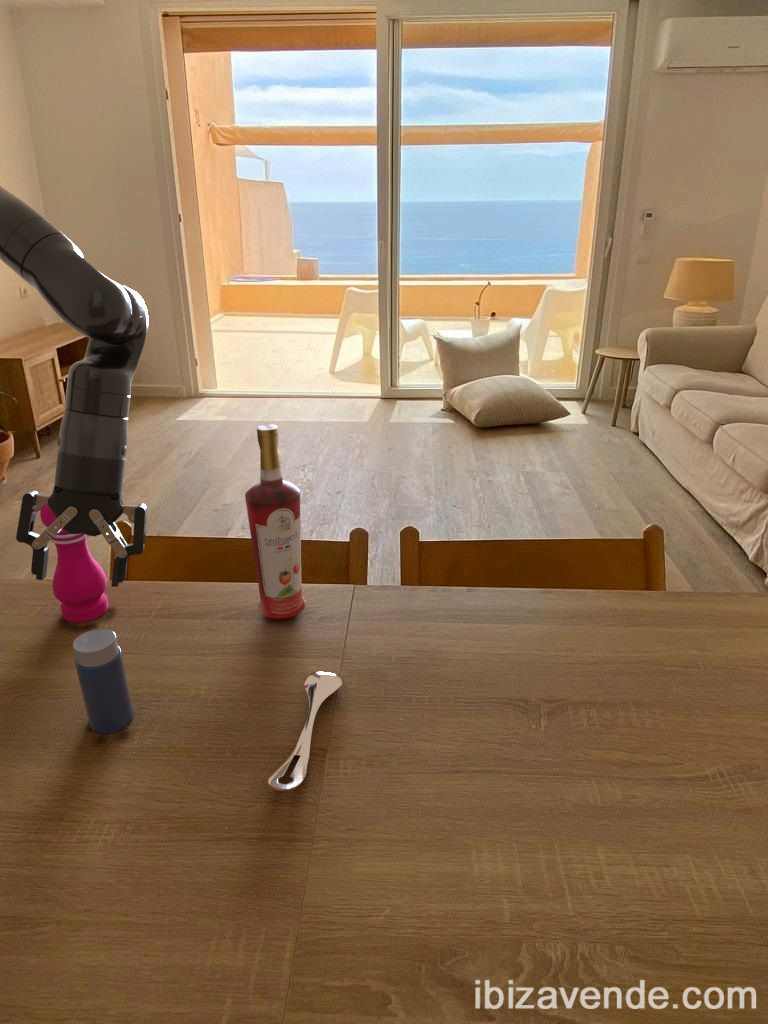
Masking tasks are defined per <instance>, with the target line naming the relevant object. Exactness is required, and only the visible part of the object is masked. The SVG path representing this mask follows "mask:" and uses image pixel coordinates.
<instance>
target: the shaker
mask: <svg viewBox="0 0 768 1024" xmlns="http://www.w3.org/2000/svg"><path fill="white" fill-rule="evenodd" d="M117 639H118V638H117V634H116V633H115V632H114V631H112V630H111V629H106V628H105V629H104V628H98V629H93V630H89V631H86V632H83V633H82V634H80V635H79V636H77V637H76V638H75V639H74V640H73V643H72V648H73V653H74V659H73V660H74V665H75V670H76V675H77V679H78V682H79V687H80V691H81V696H82V700H83V703H84V708H85V712H86V717H87V721H88V725H89V728H90V731H92V732H93V733H96V734H100V735H109V734H114V733H117V732H119V731H121V730H123V729H125V728H126V727H128V726H129V725H130V724H131V723H132V722H133V719H134V709H133V704H132V699H131V695H130V689H129V685H128V679H127V675H126V670H125V664H124V661H123V655H122V650H121V648H120V646H119V645H118V640H117Z"/></svg>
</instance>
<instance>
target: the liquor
mask: <svg viewBox="0 0 768 1024" xmlns="http://www.w3.org/2000/svg"><path fill="white" fill-rule="evenodd" d="M256 434H257V435H256V437H257V442H258V446H259V451H260V459H259V462H260V463H259V464H260V467H259V469H260V471H259V472H260V474H259V475H260V476H259V477H260V479H259V482H257V483H254V484H253V485H252V486H251V487H250V488H248V490H247V491H245V493H244V498H245V506H246V512H247V519H248V526H249V532H250V538H251V543H252V550H253V557H254V562H255V571H256V577H257V585H258V592H259V593H258V594H259V603H258V605H257V610H258V612H259V613H260V614H261V615H262V616H264V617H266V618H267V619H269V620H271V621H273V622H279V623H281V622H287V621H291V620H293V619H294V618H295V617H297V616H298V615H299V614H301V612H303V611H304V610H305V608H306V606H307V602H306V599H305V598H304V597H303V583H302V582H303V581H302V579H303V578H302V518H301V517H302V515H301V489H300V488H299V487H298V486H296V485H295V484H293V483H292V482H290V481H287V480H284V478H283V472H282V467H281V461H280V456H279V450H278V448H279V426H278V425H277V424H272V423H267V424H266V423H265V424H260V425H258V426H256Z"/></svg>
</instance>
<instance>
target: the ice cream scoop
mask: <svg viewBox="0 0 768 1024" xmlns="http://www.w3.org/2000/svg"><path fill="white" fill-rule="evenodd" d="M344 681H345V679H344V677H342V676H341V675H339V674H338V673H335V672H331V671H323V670H319V671H317V670H316V671H313V672H311V673H308V675H306V676H305V678H304V680H303V686H304V689H305V692H306V694H307V697H308V712H307V717H306V721H305V724H304V726H303V729H302V731H301V734H300V736H299V738H298V739H297V742H296V744H295V745H294V746H293V748H292V750H291V751H290V753H289V754H288V755H287V757H285V759H283V761H282V762H281V763H280V764H279V765H278V766H277V767H276V768H275V769H274V770H273V771H272V772H271V774H270V775H269V777H268V779H267V783H268V784H267V785H268V787H270V789H272V790H274V791H277V792H287V791H292V790H295V789H298V788H299V787H300V786H301V784H302V783H303V782H304V780H305V777H306V776H307V772H308V768H309V760H310V753H311V752H310V751H311V741H312V735H313V727H314V722H315V719H316V715H317V713H318V710H319V708H320V707H321V705H322V704H323V702H324V701H325V700H327V698H328V697H329V696H331V695H332V694H333V693H335V692H336V691H337V690H338V689H339V688H340V687H341V686H342V685H343V684H344ZM295 757H299V758H298V760H297V761H296V764H295V766H294V768H293V770H292V772H291V774H290V775H289V778H290V779H292V781H291V782H289V783H281V782H279V780H280V779H282V778H284V777H285V775H286V773H287V772H288V769H289V767H290V766H291V764H292V762H293V760H294V758H295Z"/></svg>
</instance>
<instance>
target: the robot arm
mask: <svg viewBox="0 0 768 1024" xmlns="http://www.w3.org/2000/svg"><path fill="white" fill-rule="evenodd" d="M0 261H1V262H2V263H4V265H5V266H7V267H8V268H9V269H11V270H12V271H13V272H14V273H15V274H17V275H18V276H19V277H20V278H21V279H23V281H25V282H26V283H27V284H28V285H29V286H31V287H33V288H34V289H35V290H36V291H37V292H38V293H39V295H40V296H41V298H43V300H44V301H45V302H46V303H47V305H48V306H49V307H50V308H51V309H52V310H53V311H54V313H55V314H57V316H58V317H59V318H60V319H61V320H62V321H63V322H64V323H66V324H67V325H68V326H69V327H70V328H71V329H73V330H74V331H75V332H77V333H79V334H80V335H81V336H84V337H85V338H88V343H87V347H86V350H85V353H84V357H83V358H82V359H81V360H79V361H75V362H74V363H73V364H72V365H71V366H70V368H69V371H68V375H67V382H66V391H65V400H64V411H63V416H62V418H61V423H60V426H59V427H60V428H59V435H58V438H57V443H56V444H57V455H56V465H55V473H54V474H55V475H54V484H53V487H54V490H53V492H52V493H51V494H50V495H49V494H43V493H39V492H38V491H36V490H30V491H27V492H26V493H25V494H23V496H22V499H21V505H20V511H19V516H18V517H19V518H18V523H17V529H16V535H15V536H16V537H15V540H16V541H17V543H21V544H22V543H24V544H25V545H28V546H30V547H31V549H32V555H31V557H32V558H31V566H30V567H31V568H30V571H31V574H32V575H35V580H36V581H44V579H46V577H47V572H48V562H49V553H50V552H49V551H50V547H49V546H48V543H50V542H51V541H50V540H51V539H52V538H53V537H54V536H55V535H56V534H57V533H58V532H59V531H60V530H61V529H62V528H63V529H64V530H65V531H67V532H68V534H81V533H83V534H86V535H88V536H87V537H97V536H100V535H102V537H103V538H104V539H105V541H106V543H107V544H108V545H109V546H110V547H111V549H112V550H113V552H114V553H115V557H114V558H113V559H114V560H113V569H112V576H111V587H115V588H117V587H119V585H120V583H124V581H125V579H126V577H127V572H128V561H129V558H130V557H131V556H134V555H142V553H143V552H144V550H145V548H146V537H147V519H148V518H147V516H148V507H147V505H146V504H145V503H139V504H138V505H136V504H135V505H133V504H125V503H124V502H123V498H122V492H123V485H124V474H125V466H126V459H127V450H128V449H127V448H128V441H129V426H128V425H129V424H128V423H129V414H130V413H129V412H130V404H131V403H130V402H131V396H132V395H131V394H132V382H133V379H134V376H135V373H136V372H137V369H138V367H139V364H140V359H141V357H142V355H143V354H142V353H143V351H144V348H145V344H146V341H147V337H148V330H149V315H148V309H147V306H146V304H145V301H144V299H143V298H142V296H141V295H140V294H139V293H138V292H137V291H135V290H134V289H132V288H131V287H128V286H126V285H124V284H121V283H119V282H117V281H114V280H113V279H111V278H109V277H108V276H106V275H105V274H103V273H102V272H101V271H99V270H98V269H97V268H96V267H94V266H93V265H92V264H91V262H89V261H88V260H86V259H85V258H84V255H83V253H82V251H81V250H80V249H79V247H78V246H77V245H76V243H74V242H73V241H72V240H71V239H70V238H69V237H68V236H66V235H65V234H64V233H63V232H62V231H61V230H59V229H58V227H56V226H55V225H53V224H52V222H50V221H49V220H47V218H46V217H44V216H43V215H41V213H40V212H38V211H36V209H34V208H33V207H31V206H30V205H28V204H27V203H26V202H25V201H23V200H21V199H20V198H19V197H17V196H16V195H14V194H13V193H11V192H10V191H8V190H7V189H5V188H4V187H2V186H1V185H0ZM45 504H48V506H49V508H50V509H51V511H52V513H53V514H54V516H55V517H56V520H55V521H54V522H53V523H52V524H51V525H50V526H49V527H46V529H44V530H43V531H42V532H41V533H40V534H38V533H36V532H34V527H35V522H36V515H37V512H40V510H41V509H42V508H43V506H44V505H45ZM122 515H126V517H127V520H128V522H129V523H131V524H133V537H132V543H127V541H126V540H125V538H124V537H123V535H122V532H121V531H120V529H119V528H118V526H117V524H116V523H115V522H116V521H117V520H118V519H119V518H120V517H121V516H122Z"/></svg>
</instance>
